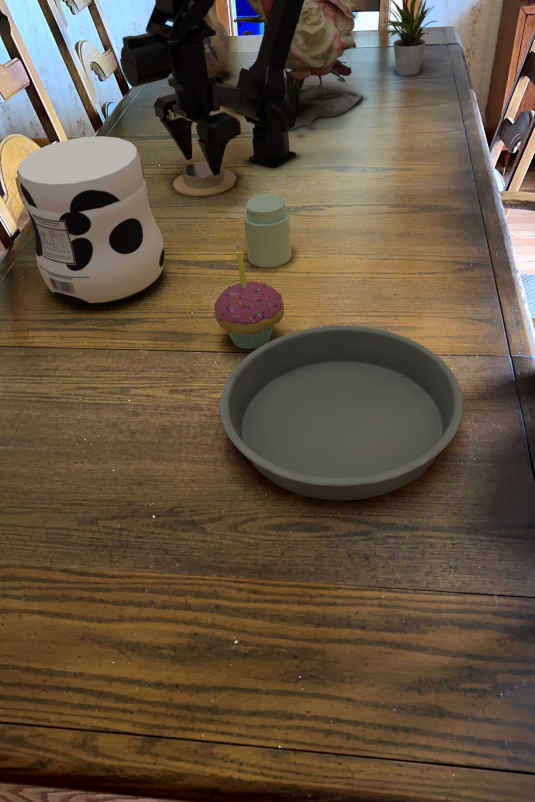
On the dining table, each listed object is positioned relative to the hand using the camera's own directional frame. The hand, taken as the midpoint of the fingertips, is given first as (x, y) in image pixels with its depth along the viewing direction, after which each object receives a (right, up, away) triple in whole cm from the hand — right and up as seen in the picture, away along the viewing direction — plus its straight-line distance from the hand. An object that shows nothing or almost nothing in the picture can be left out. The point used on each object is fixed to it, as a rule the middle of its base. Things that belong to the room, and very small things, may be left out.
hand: (202, 166), depth 123 cm
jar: (+12, -19, -19) cm, 30 cm away
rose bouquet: (+18, +23, +29) cm, 41 cm away
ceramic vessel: (-2, +37, +47) cm, 60 cm away
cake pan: (+19, -43, -47) cm, 67 cm away
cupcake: (+9, -33, -34) cm, 48 cm away
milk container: (-11, -24, -22) cm, 34 cm away
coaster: (0, -2, +2) cm, 3 cm away
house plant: (+43, +35, +41) cm, 69 cm away
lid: (0, -1, 0) cm, 1 cm away
